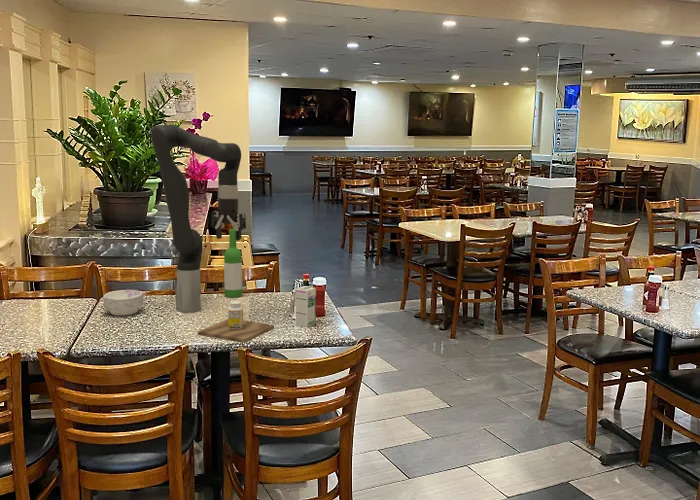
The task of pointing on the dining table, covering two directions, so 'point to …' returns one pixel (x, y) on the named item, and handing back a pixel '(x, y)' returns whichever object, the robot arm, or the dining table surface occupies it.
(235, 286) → the wine bottle
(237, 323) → the supplement bottle
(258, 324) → the walnut board
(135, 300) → the paper bowls
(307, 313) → the syrup box
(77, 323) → the dining table surface
